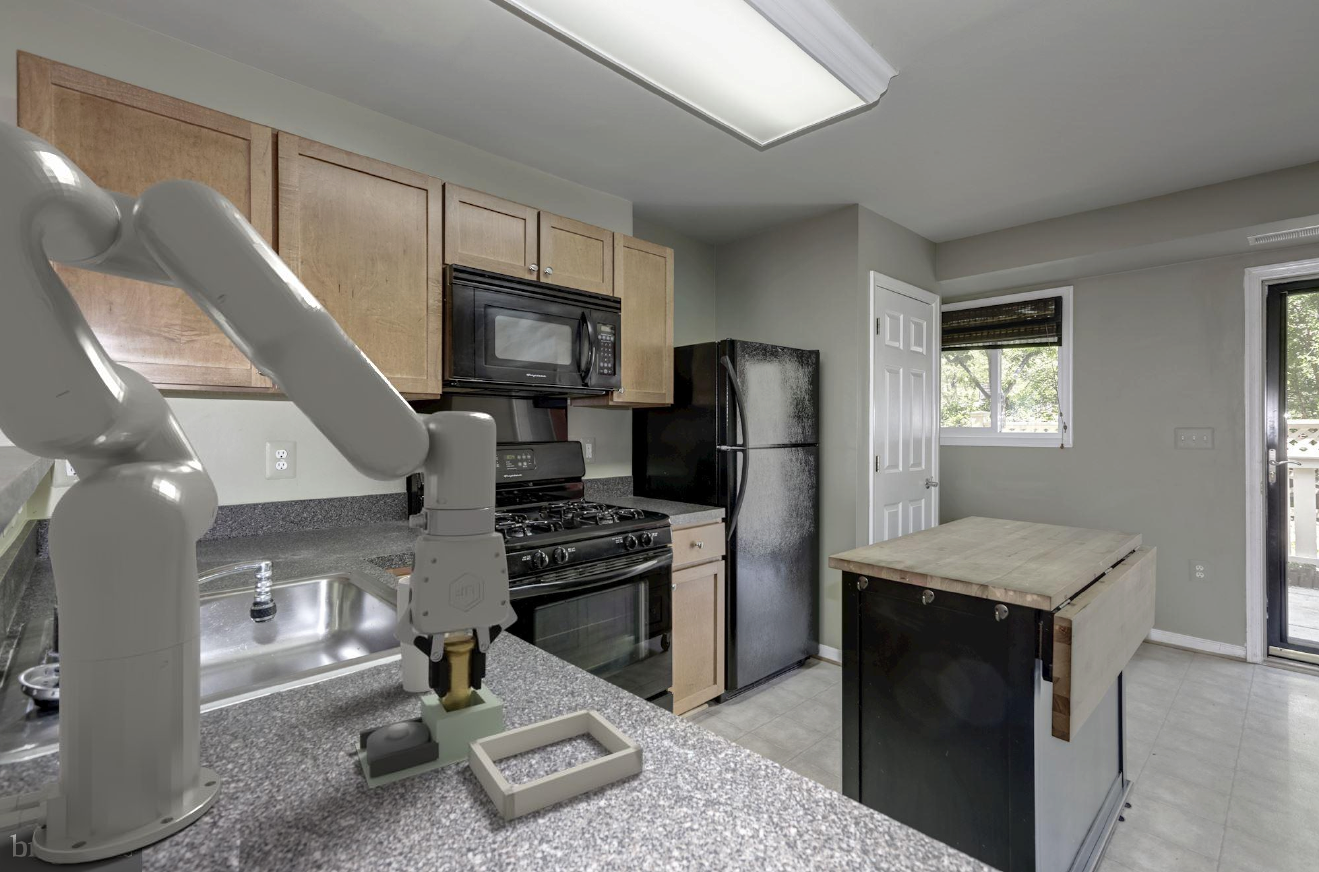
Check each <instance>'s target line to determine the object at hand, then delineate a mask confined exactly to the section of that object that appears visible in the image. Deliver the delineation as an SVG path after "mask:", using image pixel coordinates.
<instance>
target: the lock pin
mask: <svg viewBox="0 0 1319 872" xmlns="http://www.w3.org/2000/svg"><path fill="white" fill-rule="evenodd" d="M475 647H476V637H474V636H472V634H454V635H452V634H451V635H448V637H445V639H444V647H443V653H444V658H445V659H446V660H447V695H446V696H445V697H443V708H444V709H445V711H446V712H447V713H448V712H452V711H456V710H460V709H464V708H468V707H471V684H472V649H474V648H475Z"/></svg>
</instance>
